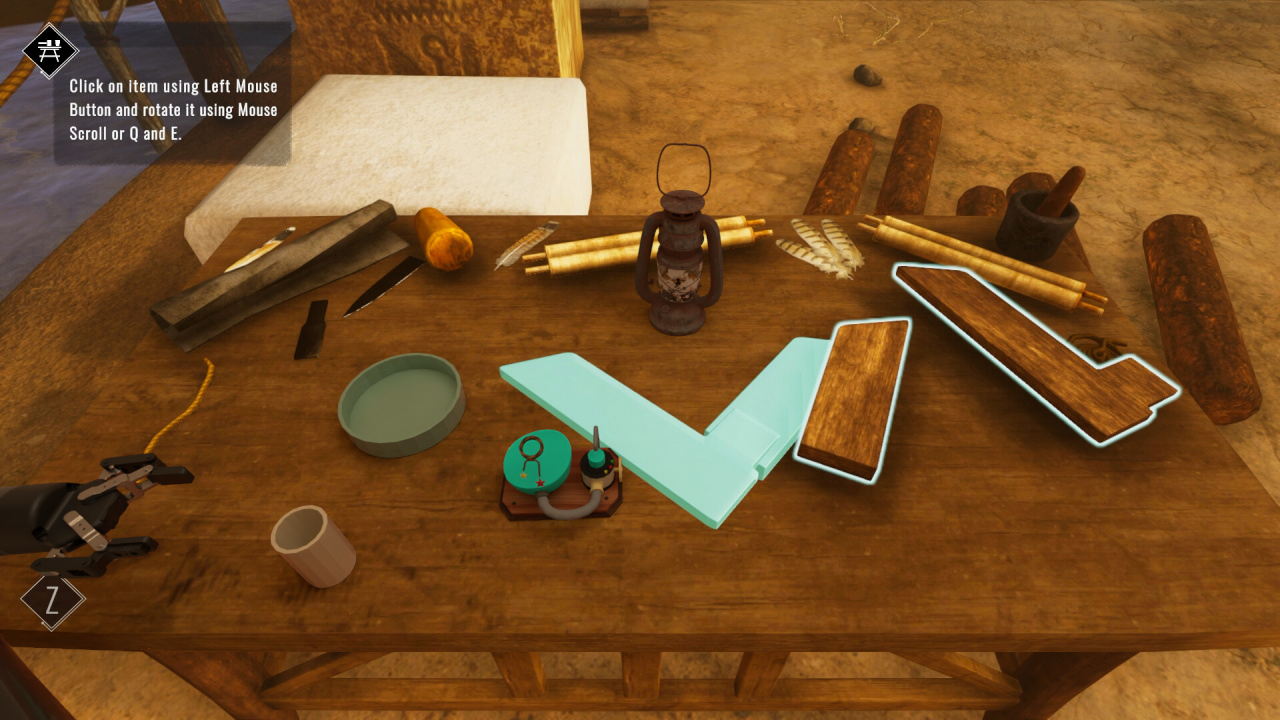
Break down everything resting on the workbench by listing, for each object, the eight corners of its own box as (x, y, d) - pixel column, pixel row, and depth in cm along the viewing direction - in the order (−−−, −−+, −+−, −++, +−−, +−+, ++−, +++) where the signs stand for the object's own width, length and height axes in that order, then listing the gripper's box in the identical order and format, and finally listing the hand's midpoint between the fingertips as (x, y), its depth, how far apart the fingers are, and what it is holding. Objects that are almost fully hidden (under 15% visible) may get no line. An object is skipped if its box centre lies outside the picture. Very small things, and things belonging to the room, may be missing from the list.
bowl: (458, 452, 90) (451, 437, 87) (332, 462, 89) (322, 447, 86) (472, 365, 103) (467, 349, 100) (363, 372, 102) (355, 356, 99)
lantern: (640, 295, 116) (637, 124, 91) (720, 302, 115) (740, 130, 89) (631, 331, 109) (626, 156, 84) (717, 339, 107) (738, 163, 82)
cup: (349, 586, 75) (318, 550, 68) (299, 590, 75) (262, 555, 68) (361, 540, 79) (333, 503, 72) (314, 544, 79) (281, 507, 72)
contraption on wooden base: (624, 532, 80) (620, 472, 69) (495, 537, 80) (470, 478, 69) (622, 449, 90) (619, 385, 79) (507, 453, 89) (488, 390, 79)
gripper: (-57, 566, 56) (116, 552, 57) (36, 447, 66) (183, 436, 67) (4, 596, 61) (161, 583, 62) (82, 482, 71) (217, 472, 72)
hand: (172, 507), depth 65 cm, fingers open, 8 cm apart
